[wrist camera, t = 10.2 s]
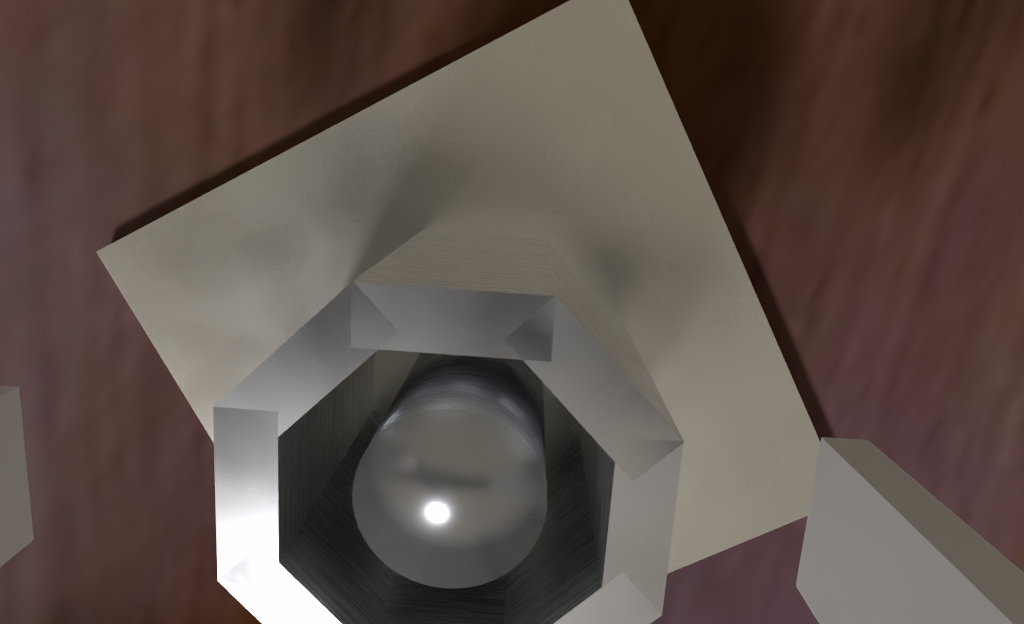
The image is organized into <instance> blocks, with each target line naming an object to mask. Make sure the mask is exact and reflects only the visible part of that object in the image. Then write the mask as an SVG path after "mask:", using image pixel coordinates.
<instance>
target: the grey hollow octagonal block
mask: <svg viewBox="0 0 1024 624" xmlns="http://www.w3.org/2000/svg"><path fill="white" fill-rule="evenodd" d="M377 350H393V351H407V352H421V353H435V354H449V355H463V356H477V357H490V358H504V359H518V360H523V361H524V362H525V363H526V364H527V365H528V366H529V367H530V369H531V370H532V371H533V372H534V373H535V374H536V375H537V376H538V377H539V378H540V380H541V381H542V382H543V383H544V384H545V385H546V386H547V387H548V388H549V390H550V391H551V392H552V393H553V394H554V395H555V396H556V397H557V398H558V400H559V401H560V402H561V403H562V404H563V405H564V406H565V407H566V408H567V410H568V411H569V412H570V413H571V414H572V415H573V416H574V417H575V418H576V420H577V421H578V422H577V425H576V426H575V427H574V428H572V429H571V430H570V431H569V432H567V433H566V434H565V435H564V436H562V437H561V438H560V439H559V440H557V441H556V442H555V443H554V444H552V445H551V446H550V447H549V448H547V449H546V450H545V454H546V484H547V511H546V517H545V522H544V525H543V529H542V532H541V534H540V536H539V538H538V540H537V542H536V544H535V545H534V547H533V548H532V550H531V552H530V553H529V554H528V555H527V556H526V557H525V559H524V560H523V561H522V562H521V563H519V564H518V565H517V566H516V567H515V568H514V569H512V570H511V571H509V572H508V573H506V574H505V575H503V576H501V577H499V578H497V579H495V580H493V581H491V582H488V583H485V584H482V585H478V586H473V587H468V588H458V589H453V588H439V587H432V586H428V585H424V584H420V583H418V582H415V581H413V580H410V579H408V578H406V577H404V576H402V575H400V574H398V573H397V572H395V571H394V570H392V569H391V568H390V567H388V566H387V565H386V564H385V563H384V562H382V561H381V560H380V559H379V558H378V557H377V556H376V554H375V553H374V552H373V551H372V550H371V549H370V547H369V546H368V544H367V543H366V541H365V540H364V538H363V536H362V534H361V532H360V530H359V528H358V525H357V522H356V519H355V515H354V510H353V501H352V491H353V481H354V477H355V473H356V470H357V467H358V465H359V462H360V460H361V458H362V456H363V454H364V453H365V451H366V449H367V447H368V445H369V444H370V442H371V440H372V438H373V437H374V435H375V433H376V431H377V429H378V428H379V426H380V424H381V422H382V420H383V419H382V418H381V417H380V416H379V415H378V414H377V413H376V412H375V411H374V410H373V403H374V362H375V352H376V351H377ZM213 426H214V463H215V500H216V536H217V573H218V580H217V581H218V582H220V583H221V584H222V585H223V586H224V587H225V588H226V589H227V590H228V591H229V592H230V593H231V594H232V595H233V596H234V597H235V598H236V599H237V600H238V601H239V602H240V603H242V604H243V605H244V606H245V607H246V608H247V609H248V610H249V611H250V612H251V613H252V614H253V615H254V616H255V617H256V618H257V619H258V620H259V621H260V622H261V623H263V624H650V623H652V622H653V621H654V620H656V619H657V618H659V617H660V616H662V610H663V602H664V594H665V586H666V578H667V570H668V562H669V554H670V546H671V539H672V531H673V523H674V515H675V507H676V499H677V491H678V483H679V475H680V467H681V459H682V451H683V444H684V441H683V439H682V437H681V435H680V433H679V431H678V429H677V427H676V425H675V423H674V421H673V419H672V417H671V415H670V413H669V411H668V409H667V407H666V405H665V403H664V401H663V399H662V397H661V395H660V393H659V391H658V389H657V388H656V386H655V384H654V382H653V380H652V378H651V376H650V374H649V372H648V370H647V368H646V366H645V364H644V362H643V360H642V358H641V356H640V354H639V352H638V350H637V348H636V346H635V344H634V342H633V340H632V338H631V336H630V334H629V332H628V330H627V329H626V328H625V327H624V326H623V324H622V323H621V322H620V321H619V320H618V319H617V317H616V316H615V315H614V314H613V313H612V312H611V311H610V309H609V308H608V307H607V306H606V305H605V304H604V302H603V301H602V300H601V299H600V298H599V297H598V296H597V294H596V293H595V292H594V291H593V290H592V289H591V287H590V286H589V285H588V284H587V283H586V282H585V281H584V279H583V278H582V277H581V276H580V275H579V274H578V272H577V271H576V270H575V269H574V268H573V267H572V266H571V264H570V263H569V262H568V261H567V260H566V259H565V257H564V256H563V255H562V254H561V253H560V252H559V250H558V249H557V248H556V247H555V246H554V245H553V244H552V242H551V241H550V240H549V239H548V238H540V237H526V236H512V235H497V234H483V233H468V232H454V231H439V230H425V229H423V230H422V231H420V232H419V233H418V234H416V235H415V236H414V237H412V238H411V239H409V240H408V241H407V242H405V243H404V244H403V245H401V246H400V247H398V248H397V249H396V250H394V251H393V252H392V253H390V254H389V255H387V256H386V257H385V258H383V259H382V260H381V261H379V262H378V263H376V264H375V265H374V266H372V267H371V268H370V269H368V270H367V271H365V272H364V273H363V274H361V275H360V276H359V277H357V278H356V279H354V280H353V281H352V282H351V283H350V284H349V285H348V286H347V287H346V288H345V289H344V290H342V291H341V292H340V293H339V294H338V295H337V296H336V297H335V298H334V299H332V300H331V301H330V302H329V303H328V304H327V305H326V306H325V307H324V308H322V309H321V310H320V311H319V312H318V313H317V314H316V315H315V316H314V317H312V318H311V319H310V320H309V321H308V322H307V323H306V324H305V325H304V326H302V327H301V328H300V329H299V330H298V331H297V332H296V333H295V334H294V335H293V336H291V337H290V338H289V339H288V340H287V341H286V342H285V343H284V344H283V345H281V346H280V347H279V348H278V349H277V350H276V351H275V352H274V353H273V354H271V355H270V356H269V357H268V358H267V359H266V360H265V361H264V362H263V363H261V364H260V365H259V366H258V367H257V368H256V369H255V370H254V371H253V372H252V373H250V374H249V375H248V376H247V377H246V378H245V379H244V380H243V381H242V382H240V383H239V384H238V385H237V386H236V387H235V388H234V389H233V390H232V391H230V392H229V393H228V394H227V395H226V396H225V397H224V398H223V399H222V400H220V401H219V402H218V403H217V404H216V405H214V406H213Z"/></svg>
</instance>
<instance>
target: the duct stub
mask: <svg viewBox="0 0 1024 624" xmlns="http://www.w3.org/2000/svg"><path fill="white" fill-rule="evenodd" d="M423 229H425V230H439V231H454V232H468V233H483V234H497V235H512V236H526V237H540V238H548V239H549V240H550V241H551V242H552V244H553V245H554V246H555V247H556V248H557V249H558V250H559V252H560V253H561V254H562V255H563V256H564V257H565V259H566V260H567V261H568V262H569V263H570V264H571V266H572V267H573V268H574V269H575V270H576V271H577V272H578V274H579V275H580V276H581V277H582V278H583V279H584V281H585V282H586V283H587V284H588V285H589V286H590V287H591V289H592V290H593V291H594V292H595V293H596V294H597V296H598V297H599V298H600V299H601V300H602V301H603V302H604V304H605V305H606V306H607V307H608V308H609V309H610V311H611V312H612V313H613V314H614V315H615V316H616V317H617V319H618V320H619V321H620V322H621V323H622V324H623V326H624V327H625V328H626V329H627V330H628V332H629V334H630V336H631V338H632V340H633V342H634V344H635V346H636V348H637V350H638V352H639V354H640V356H641V358H642V360H643V362H644V364H645V366H646V368H647V370H648V372H649V374H650V376H651V378H652V380H653V382H654V384H655V386H656V388H657V389H658V391H659V393H660V395H661V397H662V399H663V401H664V403H665V405H666V407H667V409H668V411H669V413H670V415H671V417H672V419H673V421H674V423H675V425H676V427H677V429H678V431H679V433H680V435H681V437H682V439H683V441H684V444H683V451H682V459H681V467H680V475H679V483H678V491H677V499H676V507H675V515H674V523H673V531H672V539H671V546H670V554H669V562H668V570H667V574H668V573H670V572H672V571H675V570H677V569H680V568H682V567H685V566H687V565H689V564H692V563H694V562H697V561H699V560H701V559H704V558H706V557H709V556H711V555H713V554H716V553H718V552H721V551H723V550H726V549H728V548H730V547H733V546H735V545H738V544H740V543H742V542H745V541H747V540H750V539H752V538H754V537H757V536H759V535H762V534H764V533H767V532H769V531H771V530H774V529H776V528H779V527H781V526H783V525H786V524H788V523H791V522H793V521H796V520H798V519H800V518H803V517H805V516H808V513H809V507H810V501H811V495H812V489H813V483H814V478H815V472H816V466H817V460H818V454H819V449H820V441H819V438H818V436H817V434H816V431H815V429H814V427H813V424H812V422H811V420H810V418H809V415H808V413H807V411H806V408H805V406H804V404H803V401H802V399H801V397H800V394H799V392H798V390H797V388H796V385H795V383H794V381H793V378H792V376H791V374H790V371H789V369H788V367H787V364H786V362H785V360H784V358H783V355H782V353H781V351H780V348H779V346H778V344H777V341H776V339H775V337H774V334H773V332H772V330H771V328H770V325H769V323H768V321H767V318H766V316H765V314H764V311H763V309H762V307H761V305H760V302H759V300H758V298H757V295H756V293H755V291H754V288H753V286H752V284H751V281H750V279H749V277H748V275H747V272H746V270H745V268H744V265H743V263H742V261H741V258H740V256H739V254H738V251H737V249H736V247H735V245H734V242H733V240H732V238H731V235H730V233H729V231H728V228H727V226H726V224H725V222H724V219H723V217H722V215H721V212H720V210H719V208H718V205H717V203H716V201H715V198H714V196H713V194H712V192H711V189H710V187H709V185H708V182H707V180H706V178H705V175H704V173H703V171H702V168H701V166H700V164H699V162H698V159H697V157H696V155H695V152H694V150H693V148H692V145H691V143H690V141H689V138H688V136H687V134H686V132H685V129H684V127H683V125H682V122H681V120H680V118H679V115H678V113H677V111H676V109H675V106H674V104H673V102H672V99H671V97H670V95H669V92H668V90H667V88H666V85H665V83H664V81H663V79H662V76H661V74H660V72H659V69H658V67H657V65H656V62H655V60H654V58H653V55H652V53H651V51H650V49H649V46H648V44H647V42H646V39H645V37H644V35H643V32H642V30H641V28H640V25H639V23H638V21H637V19H636V16H635V14H634V12H633V9H632V7H631V5H630V2H629V0H570V1H568V2H566V3H564V4H562V5H560V6H558V7H556V8H554V9H553V10H551V11H549V12H547V13H545V14H543V15H541V16H539V17H537V18H536V19H534V20H532V21H530V22H528V23H526V24H524V25H522V26H521V27H519V28H517V29H515V30H513V31H511V32H509V33H507V34H505V35H504V36H502V37H500V38H498V39H496V40H494V41H492V42H490V43H489V44H487V45H485V46H483V47H481V48H479V49H477V50H475V51H473V52H472V53H470V54H468V55H466V56H464V57H462V58H460V59H458V60H457V61H455V62H453V63H451V64H449V65H447V66H445V67H443V68H441V69H440V70H438V71H436V72H434V73H432V74H430V75H428V76H426V77H424V78H423V79H421V80H419V81H417V82H415V83H413V84H411V85H409V86H408V87H406V88H404V89H402V90H400V91H398V92H396V93H394V94H392V95H391V96H389V97H387V98H385V99H383V100H381V101H379V102H377V103H376V104H374V105H372V106H370V107H368V108H366V109H364V110H362V111H360V112H359V113H357V114H355V115H353V116H351V117H349V118H347V119H345V120H344V121H342V122H340V123H338V124H336V125H334V126H332V127H330V128H328V129H327V130H325V131H323V132H321V133H319V134H317V135H315V136H313V137H311V138H310V139H308V140H306V141H304V142H302V143H300V144H298V145H296V146H295V147H293V148H291V149H289V150H287V151H285V152H283V153H281V154H279V155H278V156H276V157H274V158H272V159H270V160H268V161H266V162H264V163H263V164H261V165H259V166H257V167H255V168H253V169H251V170H249V171H247V172H246V173H244V174H242V175H240V176H238V177H236V178H234V179H232V180H231V181H229V182H227V183H225V184H223V185H221V186H219V187H217V188H215V189H214V190H212V191H210V192H208V193H206V194H204V195H202V196H200V197H198V198H197V199H195V200H193V201H191V202H189V203H187V204H185V205H183V206H182V207H180V208H178V209H176V210H174V211H172V212H170V213H168V214H166V215H165V216H163V217H161V218H159V219H157V220H155V221H153V222H151V223H150V224H148V225H146V226H144V227H142V228H140V229H138V230H136V231H134V232H133V233H131V234H129V235H127V236H125V237H123V238H121V239H119V240H118V241H116V242H114V243H112V244H110V245H108V246H106V247H104V248H102V249H101V250H99V251H97V254H98V256H99V257H100V259H101V261H102V262H103V264H104V265H105V267H106V269H107V270H108V272H109V274H110V275H111V277H112V278H113V280H114V282H115V283H116V285H117V287H118V288H119V290H120V291H121V293H122V295H123V296H124V298H125V300H126V301H127V303H128V304H129V306H130V308H131V309H132V311H133V313H134V314H135V316H136V317H137V319H138V321H139V322H140V324H141V326H142V327H143V329H144V330H145V332H146V334H147V335H148V337H149V339H150V340H151V342H152V343H153V345H154V347H155V348H156V350H157V352H158V353H159V355H160V356H161V358H162V360H163V361H164V363H165V365H166V366H167V368H168V369H169V371H170V373H171V374H172V376H173V378H174V379H175V381H176V382H177V384H178V386H179V387H180V389H181V391H182V392H183V394H184V395H185V397H186V399H187V400H188V402H189V404H190V405H191V407H192V408H193V410H194V412H195V413H196V415H197V417H198V418H199V420H200V421H201V423H202V425H203V426H204V428H205V430H206V431H207V433H208V434H209V436H210V438H211V439H212V441H213V443H214V426H213V406H214V405H216V404H217V403H218V402H219V401H220V400H222V399H223V398H224V397H225V396H226V395H227V394H228V393H229V392H230V391H232V390H233V389H234V388H235V387H236V386H237V385H238V384H239V383H240V382H242V381H243V380H244V379H245V378H246V377H247V376H248V375H249V374H250V373H252V372H253V371H254V370H255V369H256V368H257V367H258V366H259V365H260V364H261V363H263V362H264V361H265V360H266V359H267V358H268V357H269V356H270V355H271V354H273V353H274V352H275V351H276V350H277V349H278V348H279V347H280V346H281V345H283V344H284V343H285V342H286V341H287V340H288V339H289V338H290V337H291V336H293V335H294V334H295V333H296V332H297V331H298V330H299V329H300V328H301V327H302V326H304V325H305V324H306V323H307V322H308V321H309V320H310V319H311V318H312V317H314V316H315V315H316V314H317V313H318V312H319V311H320V310H321V309H322V308H324V307H325V306H326V305H327V304H328V303H329V302H330V301H331V300H332V299H334V298H335V297H336V296H337V295H338V294H339V293H340V292H341V291H342V290H344V289H345V288H346V287H347V286H348V285H349V284H350V283H351V282H352V281H353V280H354V279H356V278H357V277H359V276H360V275H361V274H363V273H364V272H365V271H367V270H368V269H370V268H371V267H372V266H374V265H375V264H376V263H378V262H379V261H381V260H382V259H383V258H385V257H386V256H387V255H389V254H390V253H392V252H393V251H394V250H396V249H397V248H398V247H400V246H401V245H403V244H404V243H405V242H407V241H408V240H409V239H411V238H412V237H414V236H415V235H416V234H418V233H419V232H420V231H422V230H423ZM373 410H374V411H375V412H376V413H377V414H378V415H379V416H380V417H381V418H382V419H383V420H382V422H381V424H380V426H379V428H378V429H377V431H376V433H375V435H374V437H373V438H372V440H371V442H370V444H369V445H368V447H367V449H366V451H365V453H364V454H363V456H362V458H361V460H360V462H359V465H358V467H357V470H356V473H355V477H354V481H353V491H352V501H353V510H354V515H355V519H356V522H357V525H358V528H359V530H360V532H361V534H362V536H363V538H364V540H365V541H366V543H367V544H368V546H369V547H370V549H371V550H372V551H373V552H374V553H375V554H376V556H377V557H378V558H379V559H380V560H381V561H382V562H384V563H385V564H386V565H387V566H388V567H390V568H391V569H392V570H394V571H395V572H397V573H398V574H400V575H402V576H404V577H406V578H408V579H410V580H413V581H415V582H418V583H420V584H424V585H428V586H432V587H439V588H453V589H458V588H468V587H473V586H478V585H482V584H485V583H488V582H491V581H493V580H495V579H497V578H499V577H501V576H503V575H505V574H506V573H508V572H509V571H511V570H512V569H514V568H515V567H516V566H517V565H518V564H519V563H521V562H522V561H523V560H524V559H525V557H526V556H527V555H528V554H529V553H530V552H531V550H532V548H533V547H534V545H535V544H536V542H537V540H538V538H539V536H540V534H541V532H542V529H543V525H544V522H545V517H546V511H547V484H546V454H545V450H546V449H547V448H549V447H550V446H551V445H552V444H554V443H555V442H556V441H557V440H559V439H560V438H561V437H562V436H564V435H565V434H566V433H567V432H569V431H570V430H571V429H572V428H574V427H575V426H576V425H577V422H578V421H577V420H576V418H575V417H574V416H573V415H572V414H571V413H570V412H569V411H568V410H567V408H566V407H565V406H564V405H563V404H562V403H561V402H560V401H559V400H558V398H557V397H556V396H555V395H554V394H553V393H552V392H551V391H550V390H549V388H548V387H547V386H546V385H545V384H544V383H543V382H542V381H541V380H540V378H539V377H538V376H537V375H536V374H535V373H534V372H533V371H532V370H531V369H530V367H529V366H528V365H527V364H526V363H525V362H524V361H523V360H518V359H504V358H490V357H477V356H463V355H449V354H435V353H421V352H407V351H393V350H377V351H376V352H375V362H374V403H373Z"/></svg>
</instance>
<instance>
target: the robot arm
mask: <svg viewBox="0 0 1024 624" xmlns="http://www.w3.org/2000/svg"><path fill="white" fill-rule="evenodd" d="M33 540H34V538H33V528H32V517H31V507H30V496H29V486H28V476H27V465H26V455H25V445H24V434H23V424H22V414H21V403H20V393H19V387H10V386H0V567H1V566H2V565H3V564H5V563H6V562H7V561H8V560H9V559H11V558H12V557H13V556H14V555H16V554H17V553H18V552H19V551H20V550H22V549H23V548H24V547H25V546H26V545H28V544H29V543H30V542H31V541H33ZM796 587H797V589H798V590H799V592H800V593H801V595H802V597H803V598H804V600H805V601H806V603H807V605H808V606H809V608H810V609H811V611H812V613H813V614H814V616H815V617H816V619H817V621H818V622H819V624H1024V573H1023V572H1022V571H1021V570H1020V569H1019V568H1018V567H1016V566H1015V565H1014V564H1013V563H1012V562H1010V561H1009V560H1008V559H1007V558H1006V557H1005V556H1003V555H1002V554H1001V553H1000V552H999V551H998V550H996V549H995V548H994V547H993V546H992V545H991V544H989V543H988V542H987V541H986V540H985V539H983V538H982V537H981V536H980V535H979V534H978V533H976V532H975V531H974V530H973V529H972V528H971V527H969V526H968V525H967V524H966V523H965V522H964V521H962V520H961V519H960V518H959V517H958V516H956V515H955V514H954V513H953V512H952V511H951V510H949V509H948V508H947V507H946V506H945V505H944V504H942V503H941V502H940V501H939V500H938V499H937V498H935V497H934V496H933V495H932V494H931V493H929V492H928V491H927V490H926V489H925V488H924V487H922V486H921V485H920V484H919V483H918V482H917V481H915V480H914V479H913V478H912V477H911V476H910V475H908V474H907V473H906V472H905V471H904V470H902V469H901V468H900V467H899V466H898V465H897V464H895V463H894V462H893V461H892V460H891V459H890V458H888V457H887V456H886V455H885V454H884V453H883V452H881V451H880V450H879V449H878V448H877V447H875V446H874V445H873V444H872V443H871V442H870V441H868V440H859V439H843V438H827V437H821V443H820V449H819V454H818V460H817V466H816V472H815V478H814V483H813V489H812V495H811V501H810V507H809V513H808V518H807V524H806V530H805V536H804V542H803V547H802V553H801V559H800V565H799V571H798V576H797V582H796Z"/></svg>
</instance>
